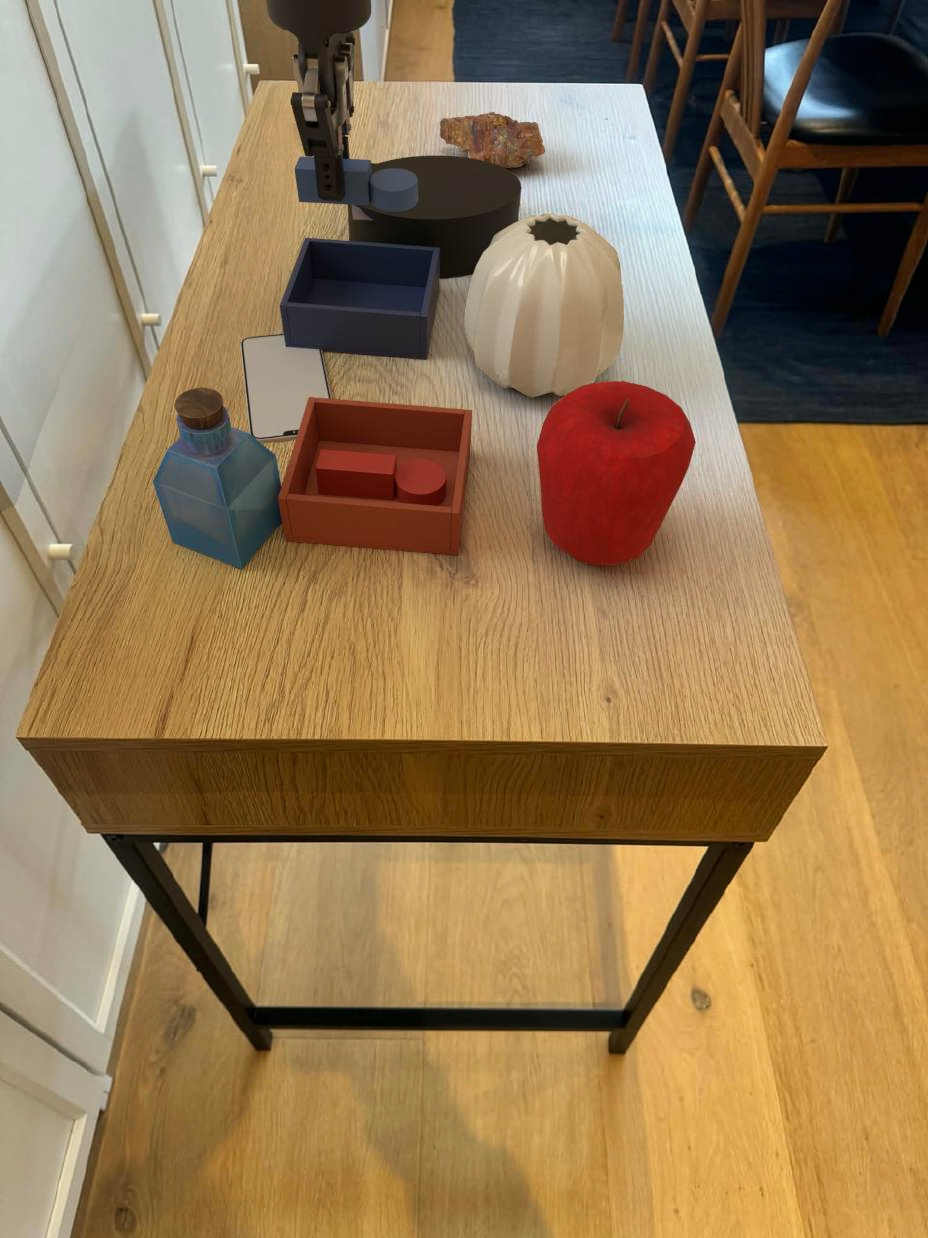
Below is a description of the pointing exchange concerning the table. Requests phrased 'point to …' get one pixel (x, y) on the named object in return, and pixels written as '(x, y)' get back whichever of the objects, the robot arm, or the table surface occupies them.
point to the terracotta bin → (408, 438)
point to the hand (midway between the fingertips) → (334, 189)
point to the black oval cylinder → (445, 210)
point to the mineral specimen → (494, 138)
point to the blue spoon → (362, 185)
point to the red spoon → (380, 477)
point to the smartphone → (280, 385)
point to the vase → (545, 306)
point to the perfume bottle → (217, 483)
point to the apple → (611, 469)
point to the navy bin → (362, 298)
